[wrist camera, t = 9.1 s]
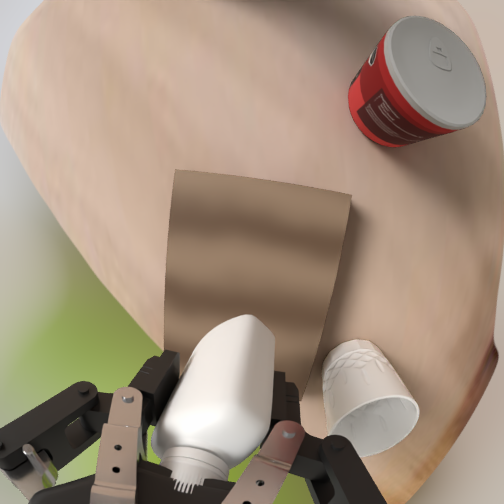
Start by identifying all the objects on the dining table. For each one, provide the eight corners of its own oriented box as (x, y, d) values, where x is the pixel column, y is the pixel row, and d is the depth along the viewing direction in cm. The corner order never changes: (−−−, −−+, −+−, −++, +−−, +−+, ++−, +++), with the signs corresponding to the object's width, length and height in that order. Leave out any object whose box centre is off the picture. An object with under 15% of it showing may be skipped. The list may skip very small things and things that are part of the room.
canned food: (406, 70, 20) (462, 23, 9) (427, 146, 22) (500, 130, 11) (335, 72, 21) (367, 8, 10) (356, 152, 23) (410, 129, 12)
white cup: (304, 354, 27) (313, 423, 18) (374, 320, 26) (412, 378, 16) (330, 401, 28) (343, 467, 19) (392, 372, 27) (423, 431, 17)
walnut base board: (186, 171, 24) (175, 169, 21) (343, 194, 24) (351, 194, 21) (173, 361, 29) (164, 376, 26) (299, 383, 28) (301, 401, 25)
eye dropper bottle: (284, 369, 16) (282, 557, 5) (200, 381, 17) (136, 540, 5) (268, 307, 15) (244, 521, 4) (176, 324, 16) (64, 484, 5)
